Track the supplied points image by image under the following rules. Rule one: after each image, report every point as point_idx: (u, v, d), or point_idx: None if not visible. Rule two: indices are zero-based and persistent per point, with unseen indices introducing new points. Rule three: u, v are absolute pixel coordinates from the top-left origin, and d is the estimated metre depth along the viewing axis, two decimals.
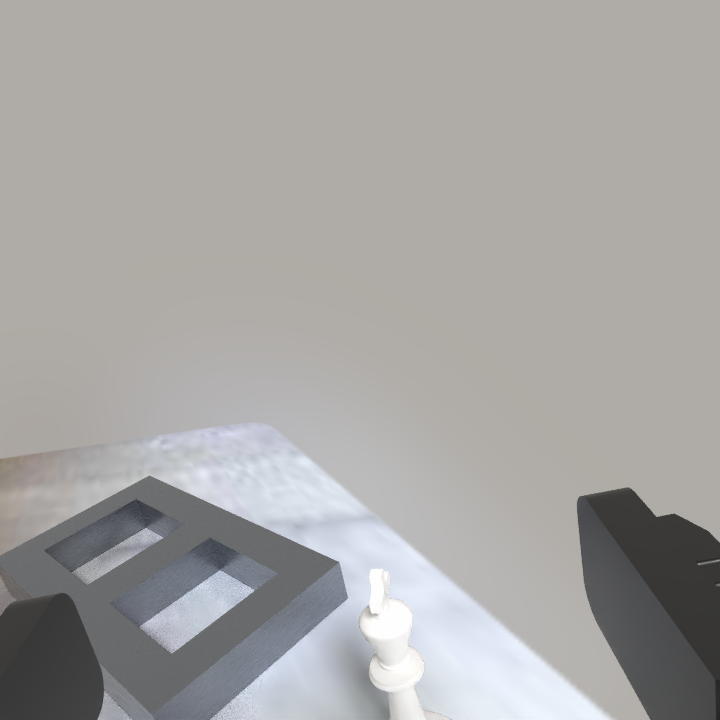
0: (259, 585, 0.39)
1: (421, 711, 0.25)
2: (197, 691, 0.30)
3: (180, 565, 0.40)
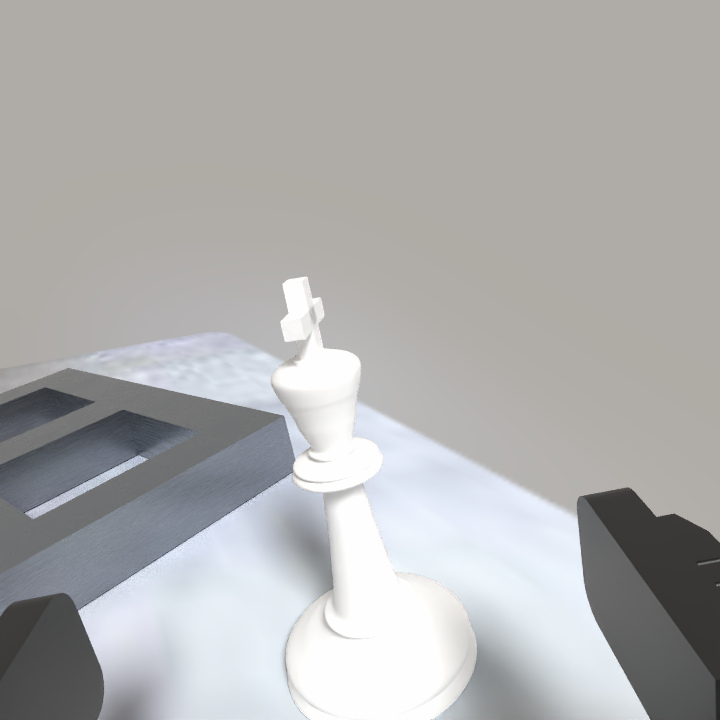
0: None
1: (380, 542, 0.15)
2: (60, 561, 0.20)
3: (79, 439, 0.30)
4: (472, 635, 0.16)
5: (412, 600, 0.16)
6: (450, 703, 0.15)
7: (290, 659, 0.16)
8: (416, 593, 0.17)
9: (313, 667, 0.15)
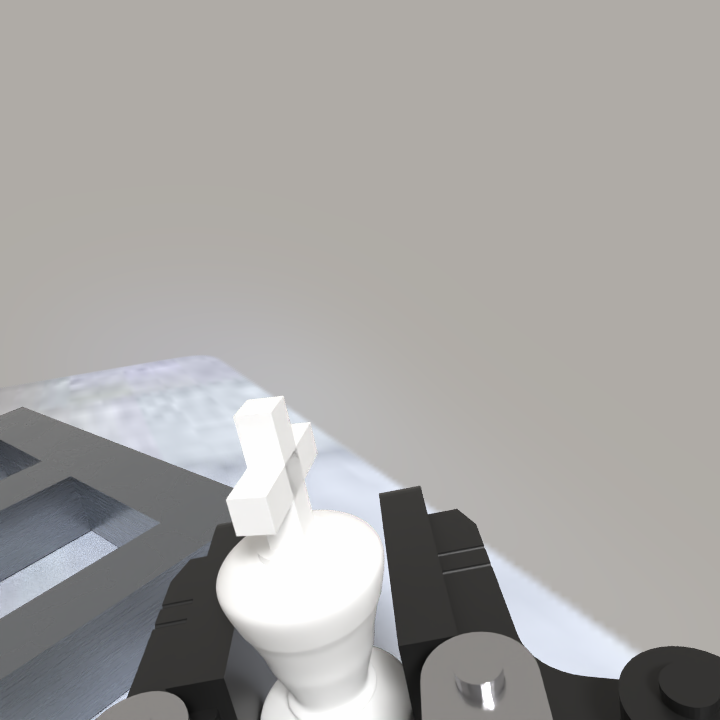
0: None
1: None
2: None
3: (12, 518, 0.24)
4: None
5: None
6: None
7: None
8: None
9: None
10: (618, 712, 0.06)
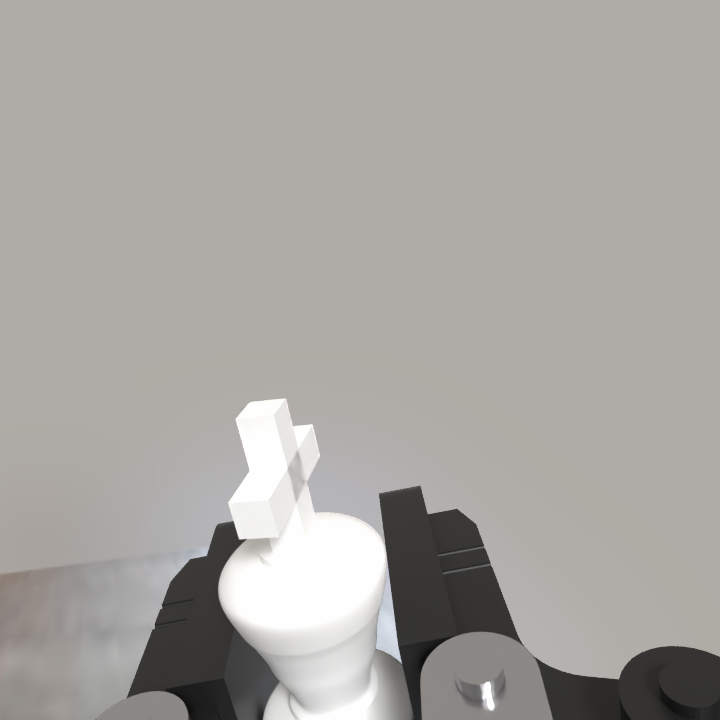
0: None
1: None
2: None
3: None
4: None
5: None
6: None
7: None
8: None
9: None
10: (618, 712, 0.06)
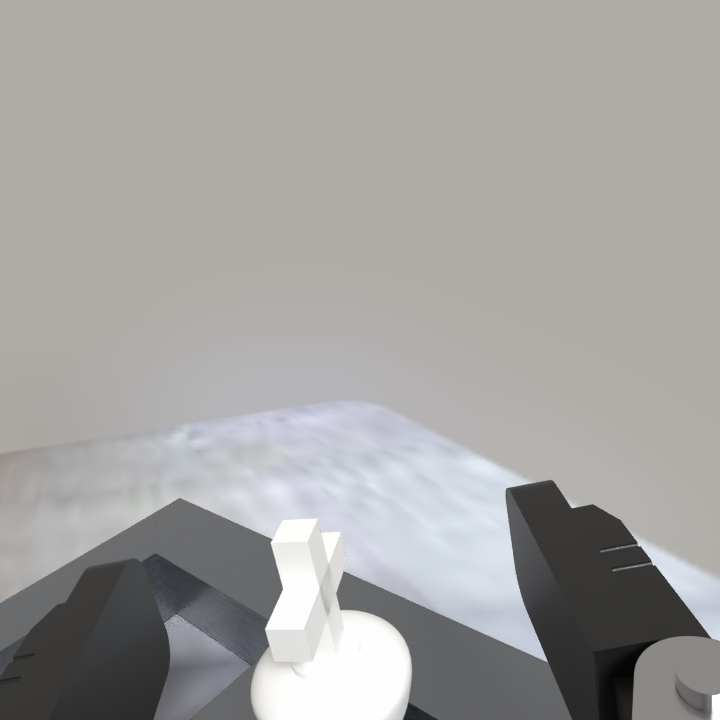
0: None
1: None
2: None
3: None
4: None
5: None
6: None
7: None
8: None
9: None
10: None
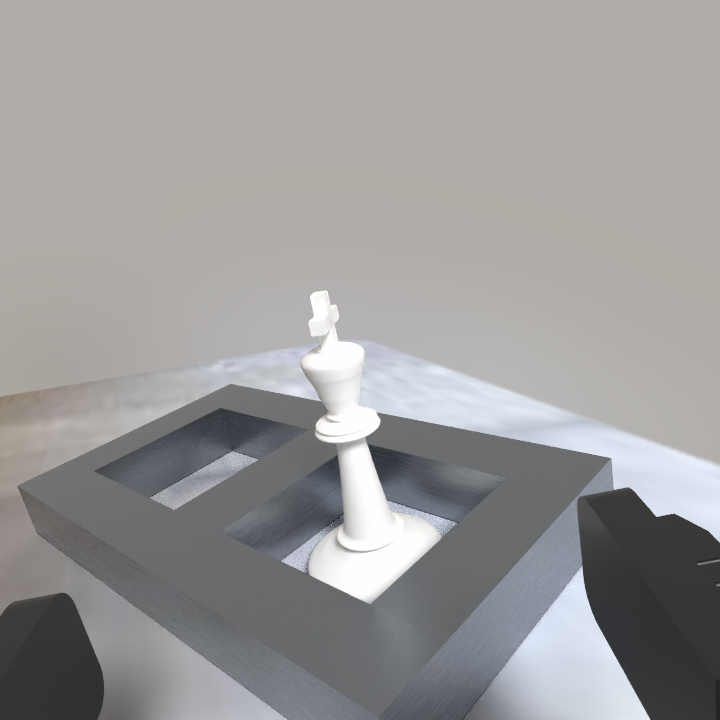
0: (454, 508, 0.24)
1: (378, 482, 0.21)
2: (443, 671, 0.15)
3: (318, 479, 0.25)
4: None
5: (401, 526, 0.21)
6: None
7: (311, 569, 0.22)
8: (405, 524, 0.22)
9: (328, 572, 0.21)
10: None
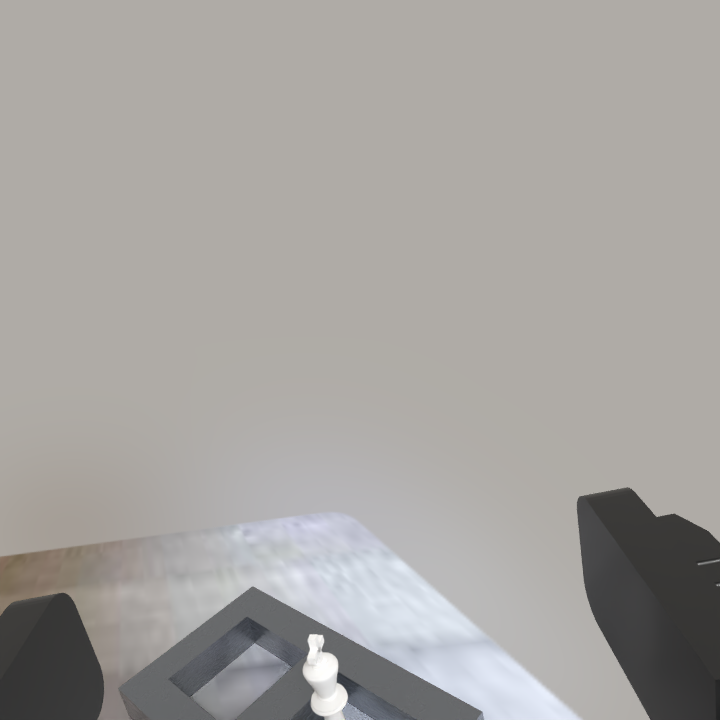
0: None
1: None
2: None
3: None
4: None
5: None
6: None
7: None
8: None
9: None
10: None
